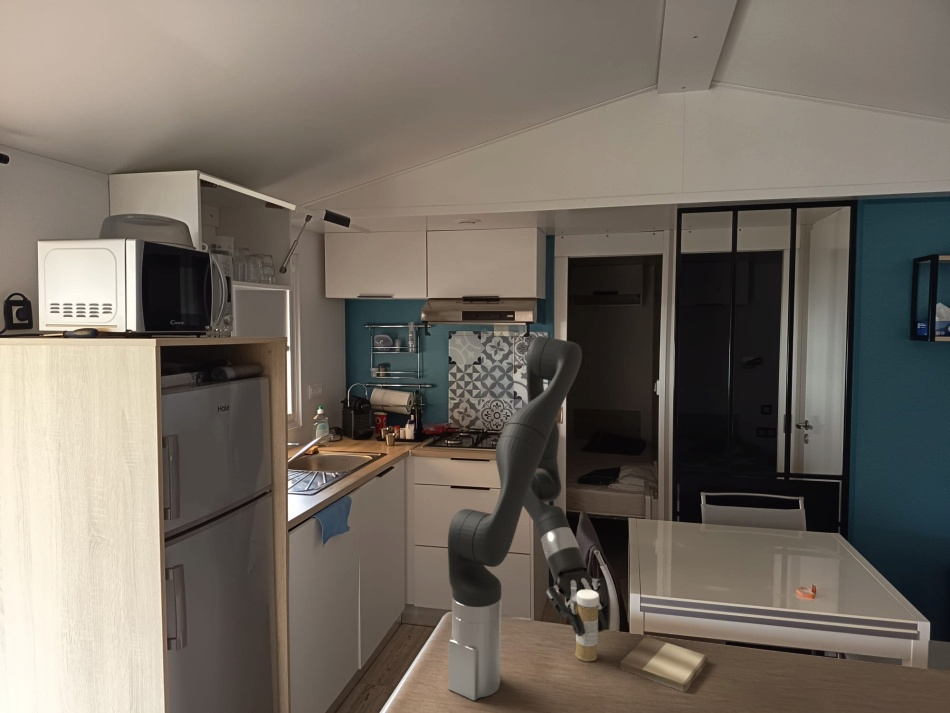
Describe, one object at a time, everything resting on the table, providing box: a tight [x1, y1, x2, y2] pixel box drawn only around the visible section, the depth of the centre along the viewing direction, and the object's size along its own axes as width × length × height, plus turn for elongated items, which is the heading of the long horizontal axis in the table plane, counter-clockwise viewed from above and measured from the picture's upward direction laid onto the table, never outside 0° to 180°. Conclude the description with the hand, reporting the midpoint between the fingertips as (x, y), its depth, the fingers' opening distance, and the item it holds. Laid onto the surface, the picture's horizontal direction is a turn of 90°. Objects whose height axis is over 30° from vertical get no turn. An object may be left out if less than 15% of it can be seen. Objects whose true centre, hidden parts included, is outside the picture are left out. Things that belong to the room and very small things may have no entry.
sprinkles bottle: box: [574, 589, 599, 662], centre depth 135 cm, size 5×5×14 cm
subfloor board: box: [620, 635, 708, 693], centre depth 132 cm, size 13×13×2 cm
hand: (592, 632), depth 133 cm, fingers closed on sprinkles bottle, 4 cm apart
